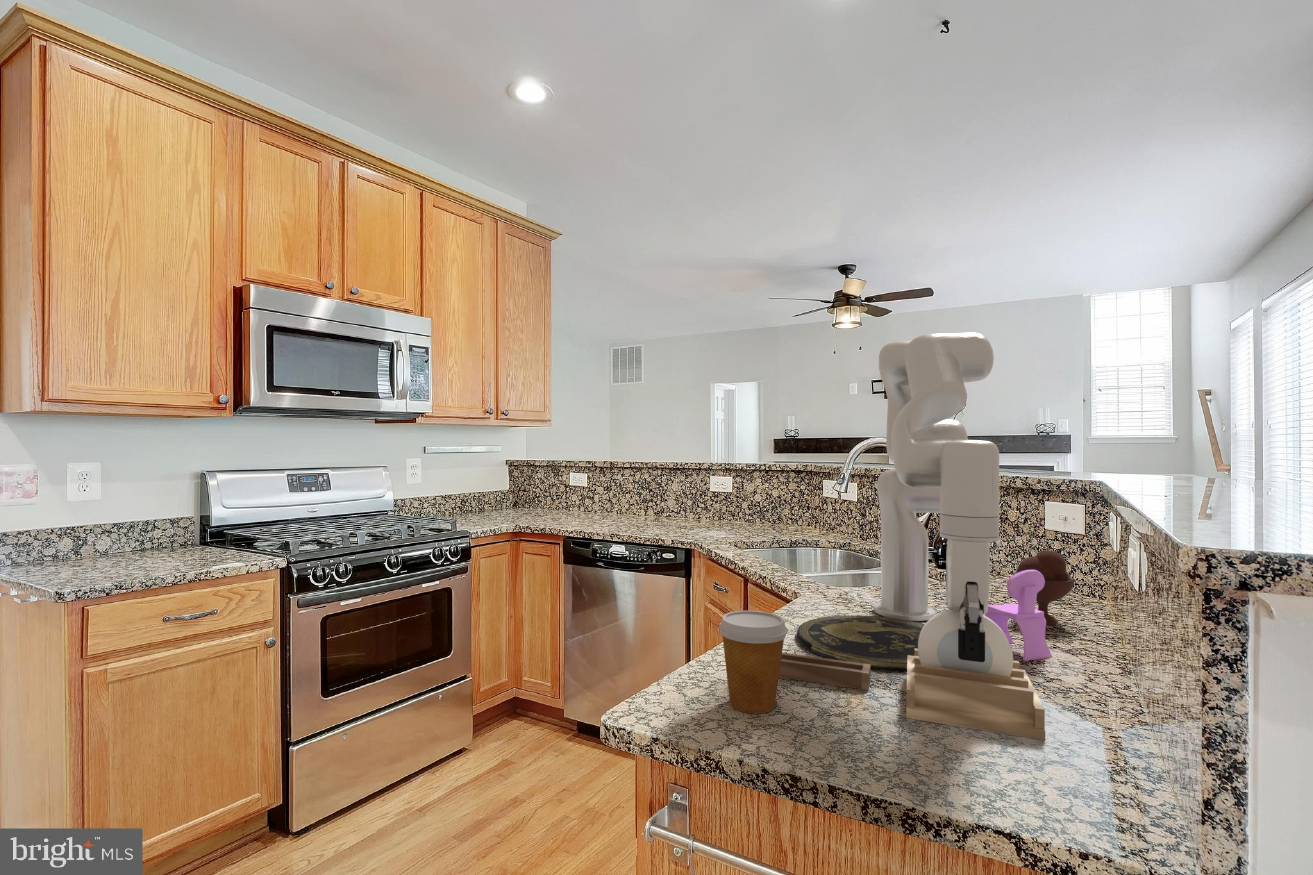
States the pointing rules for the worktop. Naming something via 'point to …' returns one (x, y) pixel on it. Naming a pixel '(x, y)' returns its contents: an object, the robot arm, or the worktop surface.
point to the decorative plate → (862, 640)
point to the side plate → (943, 646)
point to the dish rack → (975, 699)
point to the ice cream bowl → (1049, 579)
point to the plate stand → (825, 671)
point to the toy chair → (1024, 613)
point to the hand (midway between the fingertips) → (968, 649)
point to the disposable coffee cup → (753, 658)
